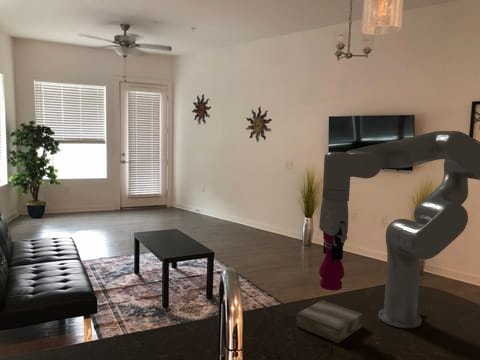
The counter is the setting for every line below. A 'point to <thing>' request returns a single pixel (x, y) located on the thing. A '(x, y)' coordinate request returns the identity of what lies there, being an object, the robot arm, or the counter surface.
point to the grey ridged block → (329, 320)
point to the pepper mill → (331, 267)
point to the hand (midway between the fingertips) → (332, 255)
